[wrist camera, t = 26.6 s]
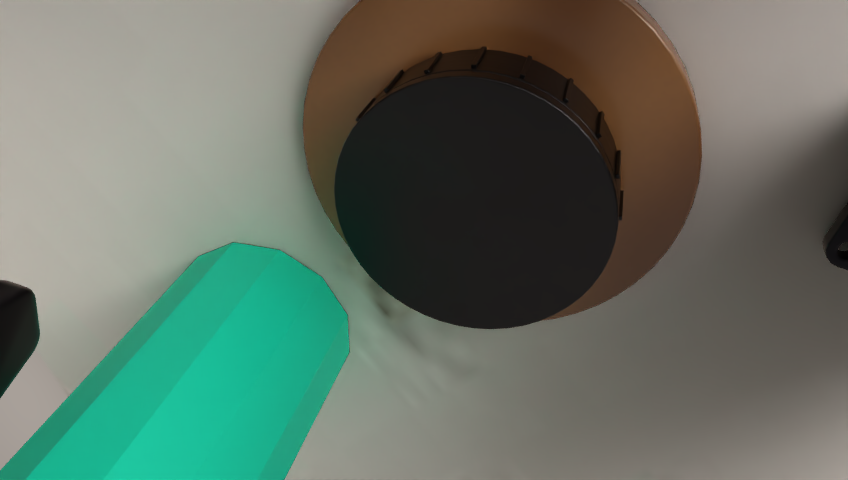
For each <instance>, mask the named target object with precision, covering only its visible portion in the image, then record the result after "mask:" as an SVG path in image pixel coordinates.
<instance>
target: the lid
mask: <svg viewBox="0 0 848 480" xmlns="http://www.w3.org/2000/svg"><path fill="white" fill-rule="evenodd" d="M532 58H533V57H532V56H530V55H528V57H524V56H521V55H518V54H513V53H508V52H503V51H497V50H487V47H481V49H475V50H460V51H455V52H450V53H444V54H442V52H437V53H436V55H435V56H434V57H432V58H429V59H426V60H424V61H422V62H420V63H418V64H416V65H414V66H412V67H411V68H409V69H408V70H406V71H405V72H404V71H403V70H400V71H399V72H398V73H397V75H396V76H395V77H394V78H393V79H392V81H391V82H390V83H389V84H388V85H387V87H386V88H385V89H384V90H383V92H382V93H381V94H380V95H379V96H378V98H377V99H376V98H373V99H372V100H371V101H370V102H369V104H368V105H367V106H366V107H365V108H364V109H363V111H362V112H361V113H360V114H359V115H358V117H357V118H356V119H355V121H357V123H356V125H355V126H354V127H353V128H352V130H351V132H350V133H349V135H348V137H347V139H346V140H345V142H344V145H343V147H342V150H341V152H340V155H339V158H338V162H337V167H336V171H335V181H334V196H335V207H336V212H337V216H338V221H339V224H340V227H341V230H342V232H343V235H344V238H345V240H346V242H347V243H348V245H349V247H350V249H351V251H352V253H353V254H354V256H355V257H356V259H357V260H358V262H359V263H360V265H361V266H362V267H363V268H364V270H365V271H366V272H367V273H368V274H369V276H370V277H371V278H372V279H373V280H374V281H375V282H376V283H377V284H378V285H379V286H381V287H382V288H383V289H384V290H385V291H386V292H388V293H389V294H390V295H392V296H393V297H394V298H395V299H397V300H399V301H400V302H402V303H403V304H405V305H406V306H408V307H410V308H412V309H414V310H416V311H418V312H420V313H422V314H424V315H426V316H429V317H431V318H434V319H437V320H439V321H442V322H446V323H450V324H454V325H458V326H464V327H470V328H481V329H501V328H512V327H518V326H524V325H527V324H531V323H535V322H538V321H541V320H543V319H546V318H548V317H551V316H553V315H555V314H557V313H559V312H560V311H562V310H564V309H566V308H567V307H569V306H570V305H571V304H573V303H574V302H575V301H577V300H578V299H579V298H581V297H582V296H583V295H584V294H585V293H586V292H587V291H588V290H589V289H590V288H591V287H592V286H593V285H594V283H595V282H596V280H597V279H598V278H599V276H600V275H601V274H602V272H603V270H604V268H605V267H606V265H607V263H608V261H609V259H610V257H611V254H612V251H613V248H614V245H615V242H616V236H617V230H618V222H619V220H622V214H623V194H624V191H623V190H620V187H621V170H620V168H621V150H618V151H617V149H616V145H615V142H614V139H613V136H612V134H611V132H610V130H609V128H608V125H607V123H606V122H605V120H604V115H605V114H604V112H603V111H601V112H599V111H598V109H597V108H596V106H595V105H594V104H593V103H592V102H591V101H590V99H589V98H588V97H587V96H586V95H585V94H584V93H583V92H582V91H581V90H580V89H579V88H578V87H577V86H576V85H574V84H573V82H574V80H573V79H572V78H569V79H567V78H565V77H564V76H563V75H561V74H560V73H558V72H557V71H555V70H554V69H552V68H550V67H548V66H546V65H544V64H542V63H540V62H538V61H535V60H532Z"/></svg>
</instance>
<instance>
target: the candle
mask: <svg viewBox="0 0 848 480" xmlns="http://www.w3.org/2000/svg"><path fill="white" fill-rule="evenodd" d="M348 354H349V333H348V315H347V314H346V312H345V311H344V309H343V308H342V306H341V305H340V303H339V302H338V300H337V299H336V297H335V296H334V294H333V293H332V291H331V290H330V288H329V287H328V285H327V284H326V282H325V281H324V279H323V278H322V277H321V276H320V275H318V274H316V273H315V272H313V271H312V270H310V269H309V268H307V267H306V266H304V265H302V264H301V263H299V262H298V261H296V260H295V259H293V258H292V257H290V256H288V255H287V254H285V253H284V252H282V251H281V250H277V249H271V248H265V247H259V246H253V245H246V244H240V243H234V242H233V243H231V244H228V245H226V246H223V247H221V248H218V249H216V250H213V251H211V252H208V253H206V254H203V255H201V256H198V257H197V258H196V259H195V261H194V262H193V263H192V264H191V265H190V266H189V267H188V268H187V269H186V270H185V271H184V272H183V274H182V275H181V276H180V277H179V278H178V279H177V280H176V281H175V282H174V283H173V284H172V285H171V286H170V288H169V289H168V290H167V291H166V292H165V293H164V294H163V295H162V296H161V297H160V298H159V299H158V301H157V302H156V303H155V304H154V305H153V306H152V307H151V308H150V309H149V310H148V311H147V312H146V314H145V315H144V316H143V317H142V318H141V319H140V320H139V321H138V322H137V323H136V324H135V325H134V326H133V328H132V329H131V330H130V331H129V332H128V333H127V334H126V335H125V336H124V337H123V338H122V339H121V341H120V342H119V343H118V344H117V345H116V346H115V347H114V348H113V349H112V350H111V351H110V352H109V354H108V355H107V356H106V357H105V358H104V359H103V360H102V361H101V362H100V363H99V364H98V365H97V366H96V368H95V369H94V370H93V371H92V372H91V373H90V374H89V375H88V376H87V377H86V378H85V379H84V381H83V382H82V383H81V384H80V385H79V386H78V387H77V388H76V389H75V390H74V391H73V392H72V393H71V395H70V396H69V397H68V398H67V399H66V400H65V401H64V402H63V403H62V404H61V406H59V408H58V409H57V410H56V411H55V412H54V413H53V414H52V415H51V416H50V417H49V418H48V419H47V421H46V422H45V423H44V424H43V425H42V426H41V427H40V428H39V429H38V431H36V433H34V435H33V436H32V437H31V438H30V439H29V440H28V441H27V442H26V443H25V444H24V445H23V446H22V448H21V449H20V450H19V451H18V452H17V453H16V454H15V455H14V457H12V458H11V459H10V461H9V462H8V463H7V464H6V465H5V466H4V467H3V468H2V469H1V470H0V480H284V479H285V477H286V475H287V473H288V472H289V470H290V468H291V466H292V464H293V462H294V460H295V458H296V456H297V454H298V452H299V450H300V448H301V446H302V444H303V442H304V440H305V438H306V436H307V434H308V432H309V430H310V428H311V426H312V425H313V423H314V421H315V419H316V417H317V415H318V413H319V411H320V409H321V407H322V405H323V403H324V401H325V399H326V397H327V395H328V393H329V391H330V389H331V387H332V385H333V383H334V381H335V379H336V377H337V376H338V374H339V372H340V370H341V368H342V366H343V364H344V362H345V360H346V358H347V356H348Z"/></svg>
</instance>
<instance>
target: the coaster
mask: <svg viewBox="0 0 848 480" xmlns="http://www.w3.org/2000/svg"><path fill="white" fill-rule="evenodd" d="M481 47H487V50H497V51H503V52H508V53H513V54H518V55H521V56H524V57H528V55H530V56H532V57H533V58H532V60H535V61H538V62H540V63H542V64H544V65H546V66H548V67H550V68H552V69H554V70H555V71H557V72H558V73H560V74H561V75H563V76H564V77H565V78H567V79H569V78H572V79H573V80H574V82H573V84H574V85H576V86H577V87H578V88H579V89H580V90H581V91H582V92H583V93H584V94H585V95H586V96H587V97H588V98H589V99H590V101H591V102H592V103H593V104H594V105H595V106H596V108H597V109H598V111H599V112H601V111H603V112H604V114H605V115H604V120H605V122H606V123H607V125H608V128H609V130H610V132H611V134H612V136H613V139H614V142H615V145H616V149H617V151H618V150H621V168H620V170H621V187H620V190H623V191H624V194H623V214H622V220H619V222H618V230H617V236H616V242H615V245H614V248H613V251H612V254H611V257H610V259H609V261H608V263H607V265H606V267H605V268H604V270H603V272H602V274H601V275H600V276H599V278H598V279H597V280H596V282H595V283H594V285H593V286H592V287H591V288H590V289H589V290H588V291H587V292H586V293H585V294H584V295H583V296H582V297H581V298H579V299H578V300H577V301H575V302H574V303H573V304H571V305H570V306H569V307H567V308H566V309H564V310H562V311H560V312H559V313H557V314H555V315H553V316H551V317H548V318H546V319H543V320H549V319H555V318H559V317H564V316H568V315H572V314H576V313H578V312H581V311H584V310H587V309H589V308H592V307H595V306H597V305H599V304H601V303H603V302H605V301H607V300H609V299H611V298H613V297H615V296H617V295H618V294H620V293H621V292H623V291H624V290H626V289H627V288H629V287H630V286H632V285H633V284H634V283H636V282H637V281H638V280H639V279H641V278H642V277H643V276H644V275H645V274H646V273H647V272H648V271H649V270H651V269H652V268H653V267H654V266H655V265H656V264H657V262H658V261H659V260H660V259H661V258H662V257H663V255H664V254H665V253H666V252H667V251H668V249H669V248H670V247H671V245H672V244H673V242H674V241H675V239H676V237H677V236H678V234H679V233H680V231H681V229H682V228H683V226H684V223H685V221H686V219H687V217H688V214H689V212H690V210H691V208H692V205H693V202H694V198H695V194H696V191H697V187H698V184H699V178H700V169H701V161H702V142H701V127H700V120H699V115H698V110H697V104H696V99H695V94H694V91H693V88H692V85H691V82H690V80H689V77H688V74H687V71H686V68H685V66H684V64H683V62H682V61H681V59H680V57H679V55H678V53H677V51H676V49H675V47H674V46H673V44H672V42H671V41H670V40H669V38H668V37H667V35H666V34H665V33H664V31H663V30H662V29H661V27H660V26H659V25H658V23H657V22H656V21H655V20H654V19H653V18H652V17H651V16H650V15H649V13H648V12H647V11H646V10H645V9H644V8H643V7H642V6H641V5H640V4H639V3H638V2H637V1H636V0H360V1H359V2H358V3H357V4H356V5H355V6H354V7H353V8H352V9H351V10H350V11H349V12H348V13H347V14H346V15H345V16H344V17H343V18H342V20H341V21H340V22H339V24H338V25H337V26H336V28H335V29H334V30H333V32H332V33H331V34H330V36H329V37H328V39H327V41H326V43H325V45H324V46H323V48H322V50H321V52H320V54H319V56H318V58H317V60H316V63H315V66H314V68H313V71H312V74H311V76H310V79H309V84H308V88H307V93H306V98H305V103H304V116H303V136H304V150H305V155H306V160H307V165H308V170H309V173H310V176H311V180H312V183H313V186H314V189H315V192H316V194H317V196H318V198H319V200H320V202H321V205H322V207H323V209H324V211H325V213H326V214H327V216H328V218H329V219H330V221H331V223H332V224H333V226H334V227H335V229H336V231H337V232H338V233H339V235H340V236H341V237H342V238H343V240H344V241H345V242H346V240H345V238H344V235H343V232H342V230H341V227H340V224H339V221H338V216H337V212H336V207H335V196H334V181H335V171H336V167H337V162H338V158H339V155H340V152H341V150H342V147H343V145H344V142H345V140H346V139H347V137H348V135H349V133H350V132H351V130H352V128H353V127H354V126H355V125H356V123H357V121H355V119H356V118H357V117H358V115H359V114H360V113H361V112H362V111H363V109H364V108H365V107H366V106H367V105H368V104H369V102H370V101H371V100H372V99H373V98H376V99H377V98H378V96H379V95H380V94H381V93H382V92H383V90H384V89H385V88H386V87H387V85H388V84H389V83H390V82H391V81H392V79H393V78H394V77H395V76H396V75H397V73H398V72H399V71H400V70H403V71H404V72H405V71H406V70H408V69H409V68H411V67H412V66H414V65H416V64H418V63H420V62H422V61H424V60H426V59H429V58H432V57H434V56H435V55H436V53H437V52H442V54H444V53H450V52H455V51H460V50H475V49H481ZM346 243H347V242H346ZM347 245H348V243H347ZM348 246H349V245H348ZM541 321H542V320H541Z"/></svg>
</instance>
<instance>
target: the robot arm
mask: <svg viewBox="0 0 848 480" xmlns="http://www.w3.org/2000/svg"><path fill="white" fill-rule="evenodd" d="M846 242H848V202H847V204H846V205H845V207H844V208H843V210H842V211H841V213H840V214H839V216H838V217H837V219H836V220H835V221H834V223H833V224H832V226H831V227H830V229H829V230H828V232H827V233H826V235H825V237H824V239H823V249H824V252H825V254H826V257H827V259H828V260H829V261H830V263H832V264H833V265H835V266H837V267H840V268H843V269H846V270H848V250H847V251H842V250H838V247H839V246H841V245H842V244H843V243H846ZM39 336H40V329H39V321H38V313H37V306H36V298H35V295H34V293H33V292H32V290H31V289H29V288H27V287H24V286H21V285H18V284H16V283H13V282H10V281H5V280H0V398H1V396H2V395H3V394H4V392H5V391H6V390H7V388H8V387H9V385H10V384H11V382H12V381H13V380H14V378H15V377H16V375H17V374H18V373H19V371H20V370H21V369H22V367H23V366H24V364H25V363H26V362H27V360H28V359H29V357H30V356H31V355H32V353H33V351H34V350H35V348H36V346H37V344H38V341H39Z"/></svg>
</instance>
